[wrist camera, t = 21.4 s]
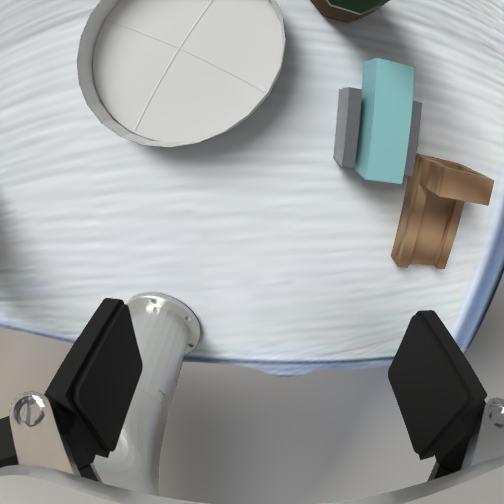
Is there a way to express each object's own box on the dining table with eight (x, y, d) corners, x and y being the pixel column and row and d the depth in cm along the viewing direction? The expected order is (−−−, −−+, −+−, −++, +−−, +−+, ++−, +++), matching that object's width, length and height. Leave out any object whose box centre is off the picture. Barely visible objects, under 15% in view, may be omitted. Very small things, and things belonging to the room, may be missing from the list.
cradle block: (394, 166, 32) (412, 176, 28) (331, 157, 32) (341, 166, 28) (401, 101, 28) (421, 103, 24) (336, 89, 28) (349, 87, 24)
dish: (71, 99, 29) (48, 101, 25) (157, -47, 20) (144, -63, 16) (217, 176, 34) (210, 188, 30) (321, 21, 25) (331, 9, 21)
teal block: (387, 174, 30) (402, 184, 27) (354, 170, 30) (365, 179, 27) (397, 69, 25) (414, 67, 21) (363, 62, 25) (376, 57, 21)
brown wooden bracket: (435, 258, 38) (460, 288, 31) (390, 255, 38) (413, 288, 31) (458, 163, 31) (494, 180, 24) (412, 153, 31) (445, 168, 24)
